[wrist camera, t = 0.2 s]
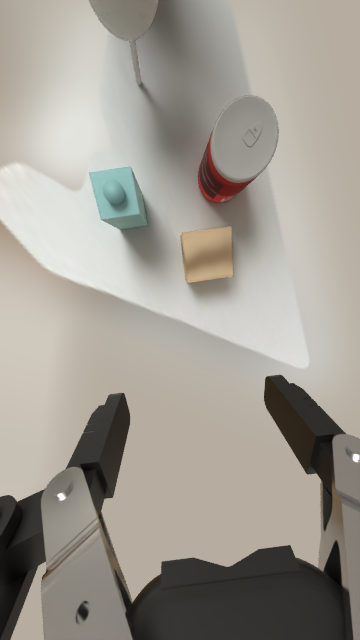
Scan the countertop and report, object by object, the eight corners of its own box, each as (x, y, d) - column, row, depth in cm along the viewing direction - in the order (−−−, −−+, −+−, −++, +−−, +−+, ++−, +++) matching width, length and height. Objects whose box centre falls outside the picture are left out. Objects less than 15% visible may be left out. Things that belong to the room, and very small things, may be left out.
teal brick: (112, 197, 31) (85, 169, 21) (141, 193, 31) (128, 162, 21) (120, 229, 33) (98, 218, 23) (147, 225, 33) (138, 212, 23)
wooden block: (180, 235, 34) (182, 232, 29) (222, 229, 34) (231, 225, 30) (185, 279, 37) (187, 282, 32) (224, 273, 37) (233, 276, 32)
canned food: (251, 166, 31) (293, 122, 21) (226, 213, 33) (252, 195, 23) (212, 137, 29) (237, 74, 19) (188, 189, 32) (199, 157, 21)
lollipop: (110, 46, 25) (38, -214, 11) (162, 47, 26) (155, -205, 12) (118, 114, 28) (66, -30, 14) (165, 114, 28) (162, -27, 14)
